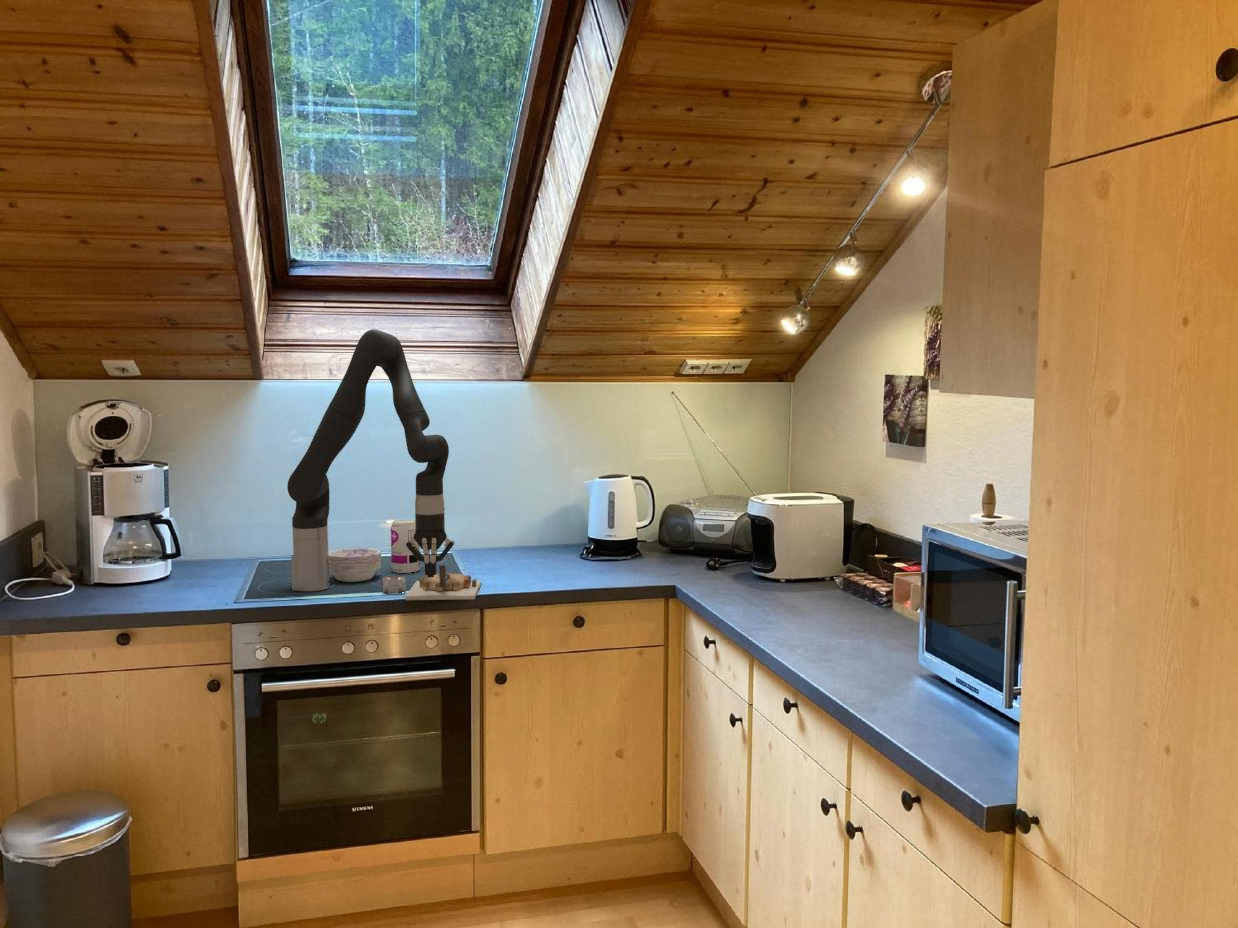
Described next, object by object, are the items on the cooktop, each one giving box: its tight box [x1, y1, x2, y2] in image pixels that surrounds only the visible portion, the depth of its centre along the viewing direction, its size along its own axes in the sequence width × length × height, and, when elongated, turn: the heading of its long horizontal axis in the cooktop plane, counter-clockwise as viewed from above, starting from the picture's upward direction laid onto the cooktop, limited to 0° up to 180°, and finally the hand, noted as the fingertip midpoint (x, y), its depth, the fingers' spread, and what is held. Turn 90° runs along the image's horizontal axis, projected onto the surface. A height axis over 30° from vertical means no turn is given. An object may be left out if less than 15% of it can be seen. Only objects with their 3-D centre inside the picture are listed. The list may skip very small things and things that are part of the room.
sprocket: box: [418, 564, 472, 591], centre depth 278 cm, size 14×16×7 cm
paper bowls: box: [328, 548, 382, 583], centre depth 294 cm, size 15×15×8 cm
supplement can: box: [390, 519, 421, 574], centre depth 304 cm, size 8×8×15 cm
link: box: [382, 575, 407, 595], centre depth 277 cm, size 3×6×4 cm, turn 93°
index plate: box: [404, 578, 482, 601], centre depth 278 cm, size 18×19×3 cm
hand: (430, 576), depth 270 cm, fingers closed
